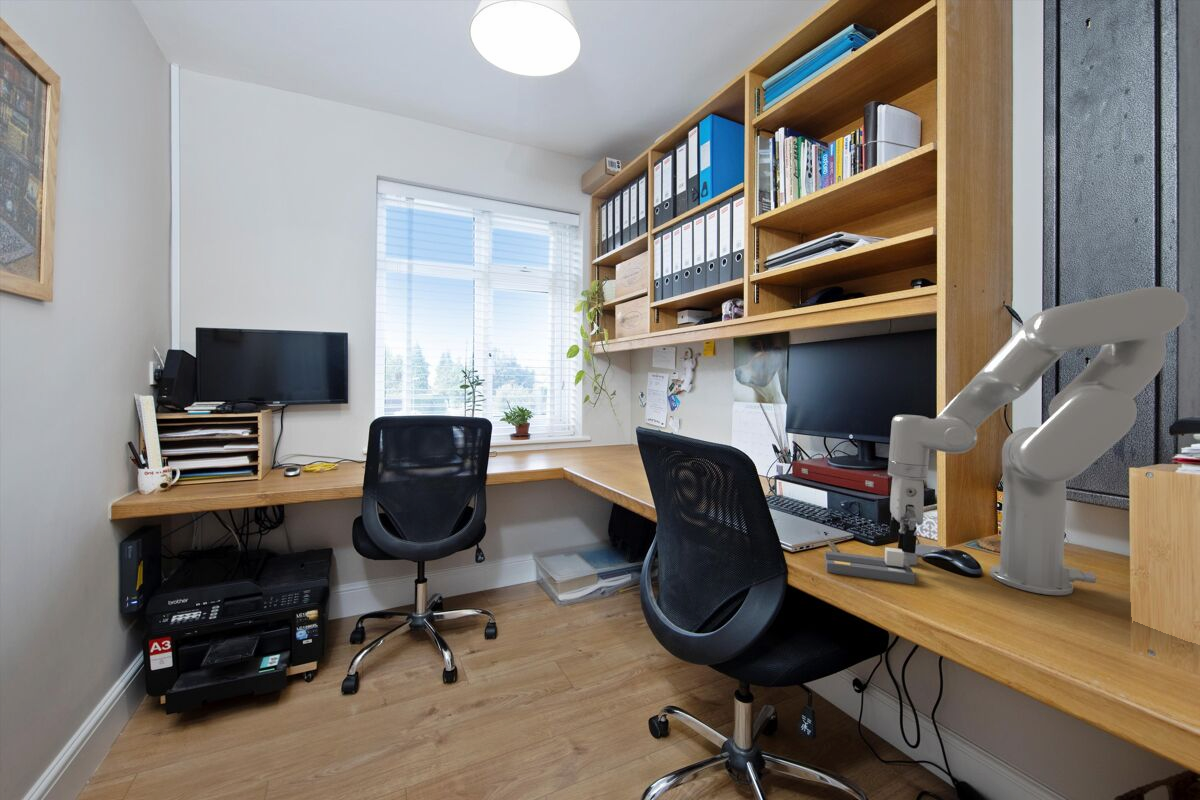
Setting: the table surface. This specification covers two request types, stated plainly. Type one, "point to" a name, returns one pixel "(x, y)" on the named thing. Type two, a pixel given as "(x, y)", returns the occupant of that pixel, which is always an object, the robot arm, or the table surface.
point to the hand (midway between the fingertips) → (901, 544)
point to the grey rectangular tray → (867, 567)
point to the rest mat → (924, 549)
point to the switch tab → (894, 557)
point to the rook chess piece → (910, 557)
